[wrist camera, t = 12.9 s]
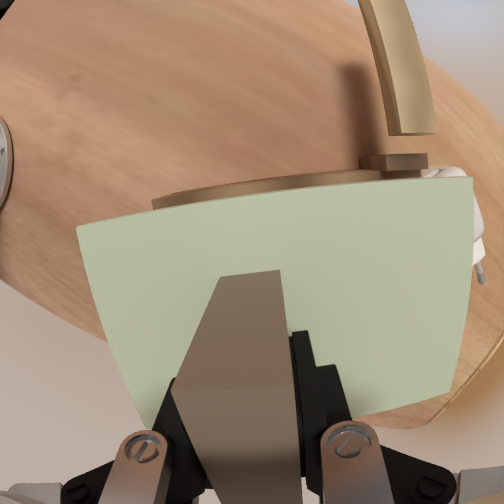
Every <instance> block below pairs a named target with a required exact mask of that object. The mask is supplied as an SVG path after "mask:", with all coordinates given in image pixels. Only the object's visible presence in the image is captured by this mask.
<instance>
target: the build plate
mask: <svg viewBox="0 0 504 504" xmlns="http://www.w3.org/2000/svg"><path fill="white" fill-rule="evenodd" d="M14 1H15V0H0V20H1V18H2V17H3V16H4V14H5V13H6V11H7V10H8V9H9V7H10V6H11V5H12V3H13V2H14Z"/></svg>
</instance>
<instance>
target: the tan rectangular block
mask: <svg viewBox="0 0 504 504" xmlns="http://www.w3.org/2000/svg"><path fill="white" fill-rule="evenodd" d="M358 3H359V6H360V9H361V12H362V15H363V19H364V22H365V25H366V29H367V32H368V36H369V40H370V43H371V47H372V51H373V55H374V59H375V63H376V68H377V72H378V77H379V82H380V86H381V91H382V97H383V102H384V108H385V114H386V120H387V126H388V133H389V136H423V135H430V134H437V133H438V131H437V124H436V118H435V112H434V106H433V101H432V95H431V90H430V86H429V81H428V76H427V72H426V68H425V64H424V60H423V56H422V53H421V49H420V45H419V42H418V39H417V35H416V32H415V29H414V26H413V23H412V20H411V17H410V14H409V11H408V8H407V6H406V3H405V0H358Z"/></svg>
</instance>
